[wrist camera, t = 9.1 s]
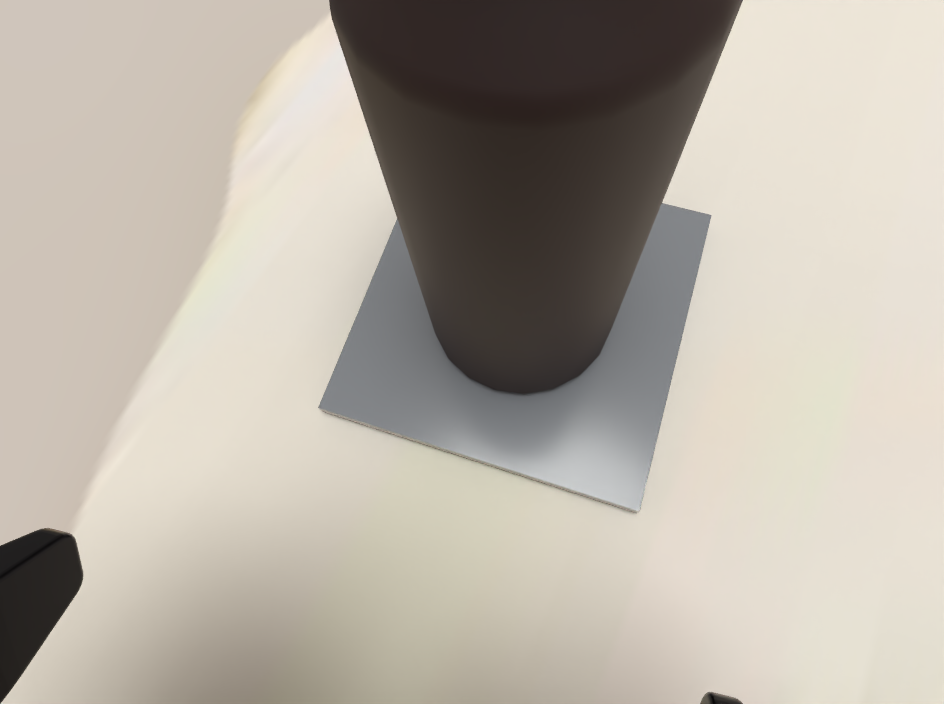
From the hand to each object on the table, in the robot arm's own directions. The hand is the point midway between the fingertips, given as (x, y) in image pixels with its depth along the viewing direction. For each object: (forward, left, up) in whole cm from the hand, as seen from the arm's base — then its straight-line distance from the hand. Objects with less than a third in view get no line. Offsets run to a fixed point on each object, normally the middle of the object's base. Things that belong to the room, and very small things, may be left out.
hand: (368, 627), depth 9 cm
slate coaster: (+11, +1, -14) cm, 17 cm away
